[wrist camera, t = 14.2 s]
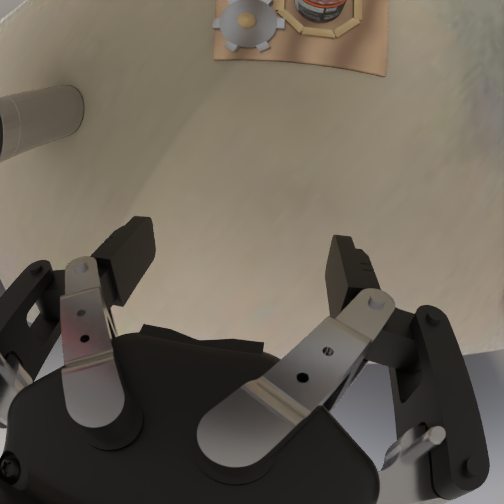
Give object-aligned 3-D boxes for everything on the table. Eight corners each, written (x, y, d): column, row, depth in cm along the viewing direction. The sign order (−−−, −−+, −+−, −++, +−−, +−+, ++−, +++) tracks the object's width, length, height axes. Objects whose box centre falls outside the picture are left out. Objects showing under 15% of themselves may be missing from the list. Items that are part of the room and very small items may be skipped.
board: (215, 60, 32) (206, 57, 29) (222, -36, 24) (214, -46, 20) (383, 76, 30) (392, 75, 26) (384, -22, 22) (392, -31, 18)
